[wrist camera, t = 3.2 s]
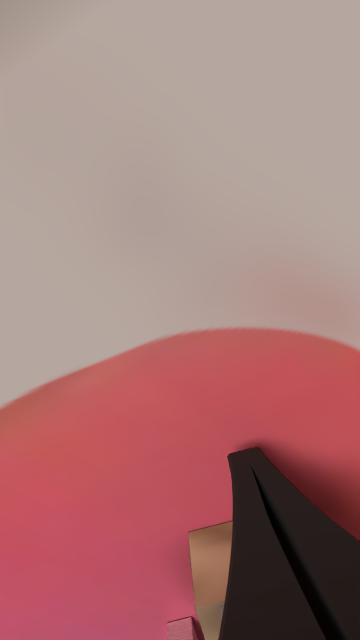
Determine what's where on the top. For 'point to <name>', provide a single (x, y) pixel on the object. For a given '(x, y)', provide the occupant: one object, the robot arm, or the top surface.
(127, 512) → the top surface
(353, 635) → the robot arm
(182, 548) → the top surface
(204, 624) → the tan box with handle
